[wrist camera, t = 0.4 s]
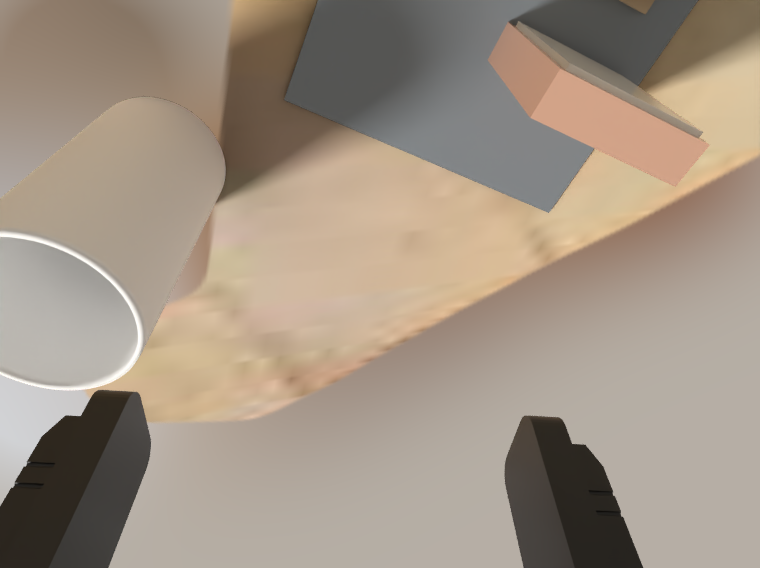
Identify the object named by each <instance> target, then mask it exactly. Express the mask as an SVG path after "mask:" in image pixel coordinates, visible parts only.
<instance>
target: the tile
mask: <svg viewBox="0 0 760 568" xmlns="http://www.w3.org/2000/svg"><path fill="white" fill-rule="evenodd" d="M488 61H489V63H490V64H491V65H492V67H493V68H494V69H495V71H496V72H497V74H498V75H499V76H500V78H501V79H502V80H503V82H504V83H505V84H506V86H507V87H508V88H509V90H510V91H511V93H512V94H513V95H514V97H515V98H516V99H517V101H518V102H519V103H520V105H521V106H522V107H523V109H524V110H525V111H526V113H527V114H528V116H529V117H530V118H532V119H534V120H536V121H538V122H540V123H542V124H544V125H546V126H548V127H551V128H553V129H555V130H557V131H559V132H561V133H563V134H565V135H567V136H569V137H572V138H574V139H576V140H578V141H580V142H582V143H584V144H586V145H588V146H591V147H593V148H595V149H597V150H599V151H601V152H603V153H605V154H607V155H610V156H612V157H614V158H616V159H618V160H620V161H622V162H624V163H626V164H628V165H631V166H633V167H635V168H637V169H639V170H641V171H643V172H645V173H647V174H650V175H652V176H654V177H656V178H658V179H660V180H662V181H664V182H666V183H669V184H671V185H673V186H676V185H677V184H678V183H679V182H680V180H681V179H682V178H683V177H684V175H685V174H686V173H687V172H688V171H689V169H690V168H691V167H692V166H693V165H694V163H695V162H696V161H697V160H698V159H699V157H700V156H701V155H702V154H703V153H704V151H705V150H706V149H707V148H708V147H709V144H708V143H706V142H705V141H704V140H702V139H701V138H700V136H701V134H702V133H703V132H702V131H701V130H700V129H698V128H697V127H695V126H694V125H692V124H691V123H690V122H688V121H687V120H685V119H684V118H682V117H681V116H680V115H678V114H677V113H675V112H674V111H672V110H671V109H670V108H668V107H667V106H665V105H664V104H662V103H661V102H660V101H658V100H657V99H655V98H654V97H652V96H651V95H650V94H648V93H647V92H645V91H644V90H642V89H641V88H640V87H638V86H637V85H635V84H634V83H632V82H631V81H630V80H628V79H627V78H625V77H624V76H622V75H620V74H618V73H616V72H615V71H613V70H611V69H609V68H607V67H605V66H603V65H601V64H599V63H597V62H596V61H594V60H592V59H590V58H588V57H586V56H584V55H582V54H580V53H578V52H577V51H575V50H573V49H571V48H569V47H567V46H565V45H563V44H561V43H559V42H557V41H556V40H554V39H552V38H550V37H548V36H546V35H544V34H542V33H540V32H538V31H537V30H535V29H533V28H531V27H529V26H527V25H525V24H523V23H521V22H519V21H518V23H517V25H516V26H515V25H513V24H511V23H509V22H508V23H507V25H506V26H505V28H504V30H503V32H502V34H501V36H500V38H499V40H498V41H497V43H496V45H495V47H494V49H493V51H492V53H491V55H490V56H489V58H488Z"/></svg>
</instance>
